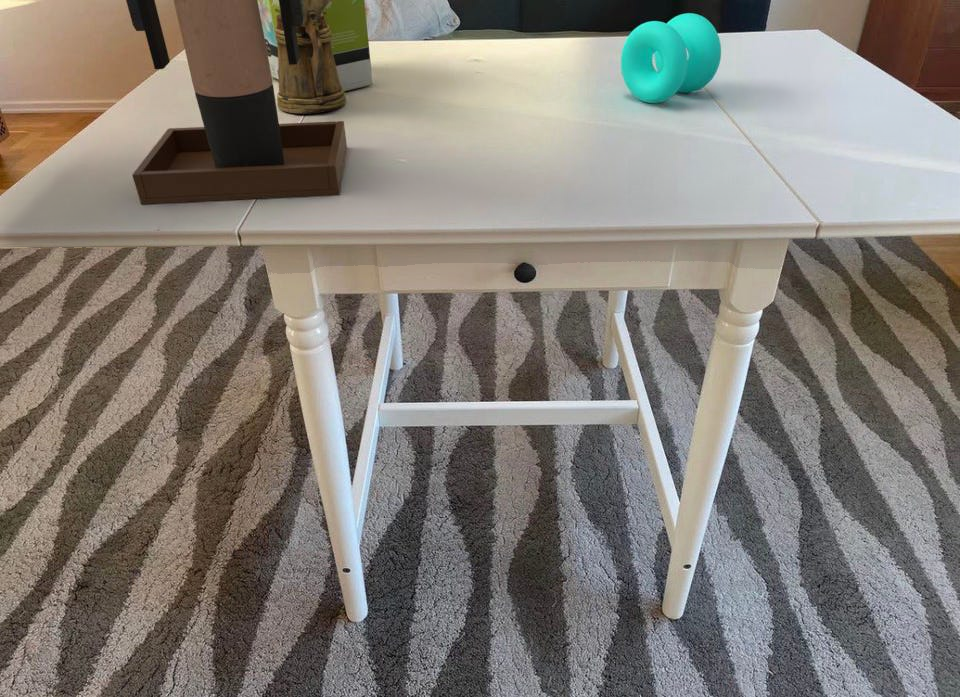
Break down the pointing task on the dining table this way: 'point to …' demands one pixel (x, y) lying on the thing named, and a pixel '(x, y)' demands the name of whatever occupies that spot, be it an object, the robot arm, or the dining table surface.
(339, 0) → the tea box
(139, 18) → the robot arm
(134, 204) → the dining table surface
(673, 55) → the donuts
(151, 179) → the serving tray
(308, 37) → the wooden mug
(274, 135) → the travel mug
